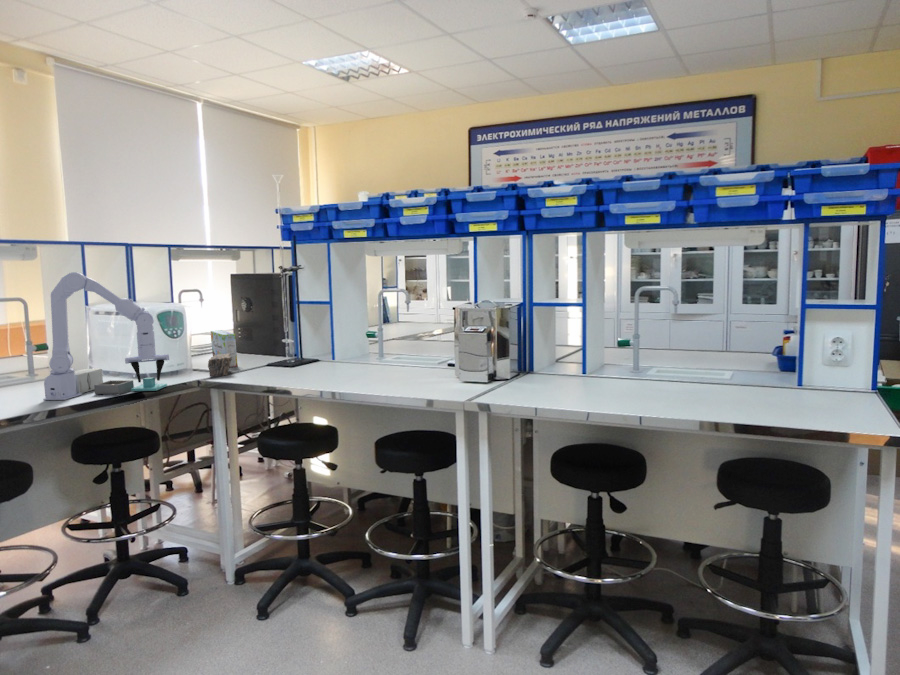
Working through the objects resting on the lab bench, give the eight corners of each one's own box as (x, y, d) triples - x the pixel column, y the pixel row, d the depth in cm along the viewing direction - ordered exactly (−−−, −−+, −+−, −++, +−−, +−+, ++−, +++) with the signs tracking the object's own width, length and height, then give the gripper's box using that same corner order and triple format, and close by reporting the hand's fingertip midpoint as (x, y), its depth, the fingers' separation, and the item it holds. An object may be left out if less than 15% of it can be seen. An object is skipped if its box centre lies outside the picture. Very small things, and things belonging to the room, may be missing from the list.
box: (119, 394, 224) (118, 385, 224) (95, 394, 225) (94, 385, 224) (133, 389, 233) (133, 380, 233) (110, 389, 234) (110, 380, 233)
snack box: (211, 362, 297) (209, 330, 296) (223, 361, 301) (221, 329, 299) (225, 367, 280) (223, 334, 279) (238, 366, 284) (236, 333, 282)
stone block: (231, 376, 259) (230, 357, 258) (208, 377, 258) (207, 358, 257) (236, 370, 273) (235, 353, 272) (214, 371, 271) (213, 353, 271)
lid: (156, 392, 229) (155, 380, 228) (131, 392, 229) (130, 380, 228) (167, 387, 238) (166, 375, 237) (143, 387, 238) (142, 376, 237)
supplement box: (104, 387, 238) (79, 394, 226) (87, 387, 240) (61, 394, 227) (102, 368, 237) (77, 374, 225) (85, 368, 239) (59, 374, 226)
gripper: (166, 341, 238) (169, 377, 240) (123, 345, 231) (126, 381, 233) (168, 343, 232) (171, 380, 234) (124, 346, 225) (127, 384, 227)
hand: (149, 381), depth 233 cm, fingers open, 6 cm apart
